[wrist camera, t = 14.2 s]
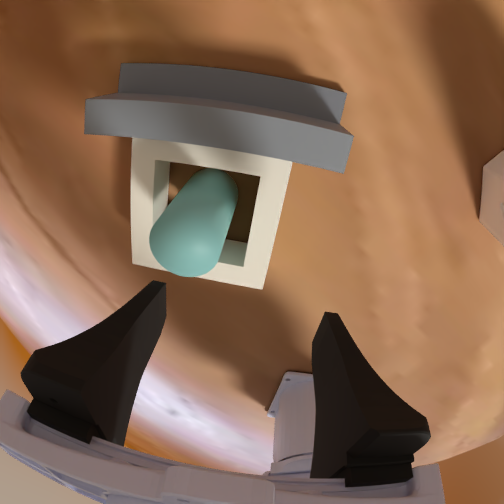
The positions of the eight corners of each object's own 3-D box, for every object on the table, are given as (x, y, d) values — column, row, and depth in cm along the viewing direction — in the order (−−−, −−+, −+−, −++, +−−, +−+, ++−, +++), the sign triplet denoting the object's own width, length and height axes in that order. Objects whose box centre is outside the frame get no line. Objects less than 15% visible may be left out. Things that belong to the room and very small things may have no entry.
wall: (330, 152, 19) (343, 173, 15) (119, 120, 18) (84, 133, 15) (344, 92, 17) (363, 97, 13) (125, 63, 16) (88, 64, 13)
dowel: (243, 175, 20) (227, 222, 14) (232, 223, 22) (214, 284, 16) (190, 163, 20) (151, 204, 14) (182, 211, 22) (147, 267, 16)
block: (264, 264, 23) (262, 289, 21) (147, 241, 23) (132, 263, 21) (291, 144, 19) (293, 156, 16) (152, 123, 18) (132, 131, 16)
